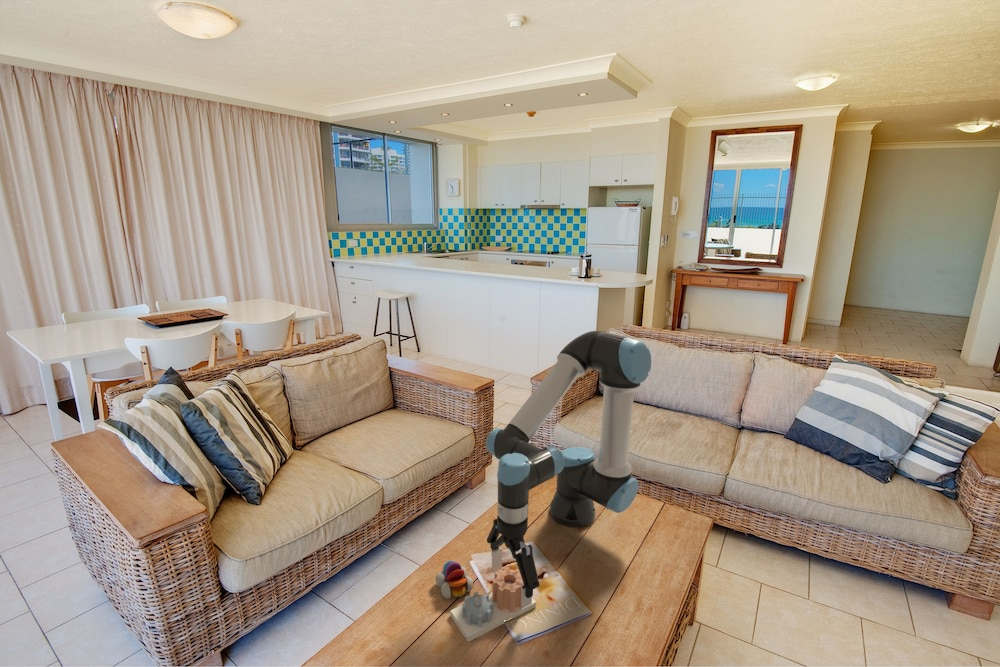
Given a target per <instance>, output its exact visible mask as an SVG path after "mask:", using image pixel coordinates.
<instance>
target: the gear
mask: <svg viewBox="0 0 1000 667" xmlns="http://www.w3.org/2000/svg"><path fill="white" fill-rule="evenodd" d="M503 569H504V570H501V571H500V570H499V571H496V572H494V579H492V600H493V603H494V602H497V604H498V609H499V610H501V611H502V610H503V609H509V610H510V612H515V608H517V607H521V590H522V584H523V580H522V577H521V574H520V571H519V568H516V569H510V567H509V566H506V567H505V566H504V568H503ZM509 581H511V582H513V584H507V582H509ZM521 608H522V607H521Z"/></svg>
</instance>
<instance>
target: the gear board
mask: <svg viewBox="0 0 1000 667" xmlns="http://www.w3.org/2000/svg"><path fill="white" fill-rule="evenodd" d="M507 584H513V582H511V581H509V582H507ZM492 591H493V590H492ZM492 591H489V592H487V593H484V594H479V592H478V591H476V592H473V595H471V596H469V595H466V596H465V597H464V602H463V604H461V605H459V606H456V607H455V608H453V609H451V610H450V613H449V614H450V617H451V619H452V621H454V623H455V625H456V626H457V628H458V629H459V631H460V633H461V634H462V635H463V637H464V639H465V641H466V642H467V643H470V642H472V641H473V640H475V639H477V638H479V637H482V636H483V635H485V634H486V633H488V632H490V631H493V630H494V629H496V628H498V627H500V626H501V625H504V624H505V623H504V620H508V619H510V618H513V617H515V618H517V617H519V616H521V615H523V614H525V613H527V612H529V611H531V610H533V609H535V608H536V607H537V601H536V599H534V598H533V597H532V604H530V605H528V606H526V607H524V608H521V607H517V608H515V612H510V610H509V609H503V610H502V611H501V610H499V609H498V604H497V602H494V603H493V600H492ZM516 616H517V617H516Z"/></svg>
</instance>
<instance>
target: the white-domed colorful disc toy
mask: <svg viewBox="0 0 1000 667" xmlns="http://www.w3.org/2000/svg"><path fill="white" fill-rule="evenodd" d="M435 583H436V586H437V587H439V588H440V593H441V595H442V597H443V598H444V599H451V597H452V596H453V597H456V598H458V597H462V596H464V595H465V593H466V592H467V593H469V592H470V591H471V590H472V589H473V586H474V582H473V579H472V577H470V576H469V575H467V569H466V567H465V566H464V565H461V563H459V562H457V561H455V560H447V561H446V562H445V563H444V564H443V567H442V571H439V572H437V574H436V576H435Z"/></svg>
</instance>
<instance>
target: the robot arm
mask: <svg viewBox="0 0 1000 667" xmlns="http://www.w3.org/2000/svg"><path fill="white" fill-rule="evenodd" d="M651 355H652V354H651V351H650V349H649V347H648V346H647V344H645V343H644V342H643V341H641V340H638V339H635V338H633V337H628V336H624V335H619V334H614V333H610V332H606V331H601V330H593V331H592V330H591V331H588V332H585V333H583V334H581V335H578V336H577V337H575V338H574V339H572V340H571V341H570V342H569V343H567V344H566V345H565V346H564V347H563V349H561V351H560V352H559V354H558V355H556V356H557V357H556V358H557V359H556V360H557V361H556V362H555V363H554V365H553V367H552V368H551V369H550V370H549V371H548V373H547V374H546V375H545V376H544V378H543V380H542V381H541V382H540V383H539V384H538V385H537V387H536V388H535V390H534V391H533V392H532V393H531V394H530V396H529V397H528V398H527V399H526V401H525V402H524V403H523V405H522V406H521V407H520V408H519V409H518V411H517V412H516V413H515V415H514V416H512V418H511V420H510V421H509V423H508V424H507V425H506V426H505V427H504V428H499V427H498V428H497V427H496V428H494V429H493V430H491V431H490V432H489V434H488V435H487V437H486V440H485V448H486V450H487V452H488V453H489V454H490V455H492V456H493V457H495V458H496V459H497V460H498V465H497V466H498V467H497V473H496V474H497V475H496V477H497V510H496V511H497V517H496V518H495V519H493V523H492V524H493V525H492V526H491V530H490V531H489V534H488V536H487V538H486V543H488V544H490V546H489V547H490V549H491V572H492V573H494V574H495V572H496V571H499V572H500V570H501V571H502V569H503V548H502V546H503V544H504V545H505V547H506V548H508V550H509V551H510V553H511V557H512V558H513V559H514V560H515V562H516V565H517V569H519V571H520V574H521V577H522V580H523V584H522V590H521V607H522V608H524V607H526V606H528V605H530V604H532V598H533V596H534V590H535V589H537V588H539V587H541V586H540V580H539V577H538V573H537V572H538V571H537V567H536V563H535V560H534V555H533V552H534V551H533V546H532V544H528V545H527V544H526V542H525V539H524V536H525V534H526V533H527V531H528V518H529V517H528V516H529V498H530V497H529V496H530V495H529V494H530V490H532V489H534V488H536V487H538V486H539V485H541V484H543V483H545V482H547V481H548V480H551V479H554V477H555V476H556V488H555V489H556V490H555V493H554V495H553V498H552V500H551V501H550V506H549V514H550V517H551V518H552V519H553V521H555V522H557V524H560V525H561V526H564V527H568V528H575V529H576V528H577V529H579V528H584V527H588V526H590V525H591V524H592V523H593V522H594V521H595V519H596V507H595V504H594V503H597V504H598V505H601V506H602V507H604V508H605V509H606V510H610V511H612V512H614V513H617V514H621V513H623V512H625V511H626V510H627V509H629V507H630V506H631V505H632V504H633V502H634V500H635V499H636V497H637V495H638V494H637V493H638V492H639V488H640V486H639V481H638V480H637V479H636V477H633V475H632V474H633V467H632V465H631V463H629V461H628V459H629V453H630V450H629V449H630V442H631V440H630V439H631V431H632V430H631V429H632V418H633V410H634V409H633V408H634V407H633V406H634V398H635V391H636V390H637V389H638V388H639V387H641V384H642V383H643V382H644V381H646V380H647V378H648V376H649V372H650V371H651V368H652V356H651ZM589 370H594V371H597V372H599V383H600V384H601V385H602V386H603V395H602V396H603V398H602V410H601V423H600V424H601V425H600V436H599V438H600V439H599V449H598V451H599V452H598V457H597V458H596V455H595V452H594V451H593V449H591V448H587V447H584V446H572V447H567V448H565V449H563V450H562V451H561V450H560V449H559V448H557V447H556V446H554V445H547V446H544V447H543V446H542V447H541V448H540V447H539V446H536V445H534V444H532V443H530V440H532V438H534V436H535V434H536V433H537V431H538V430H539V429H540V428H541V427H542V425H543V424H544V423H545V421H546V420H547V418H548V417H549V416H550V415H551V413H552V412H553V411H554V410H555V408H556V407H557V405H558V404H559V403H560V401H561V400H562V399H563V398H564V396H565V395H566V394H567V392H568V391H569V389H570V388H571V387H572V385H573V384H574V383H575V382H576V380H577V379H578V377H583V376H584V375H585V374H586V372H588V371H589ZM500 534H501V535H500ZM520 550H521V551H520ZM519 551H520V552H519ZM516 552H517V553H516Z"/></svg>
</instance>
